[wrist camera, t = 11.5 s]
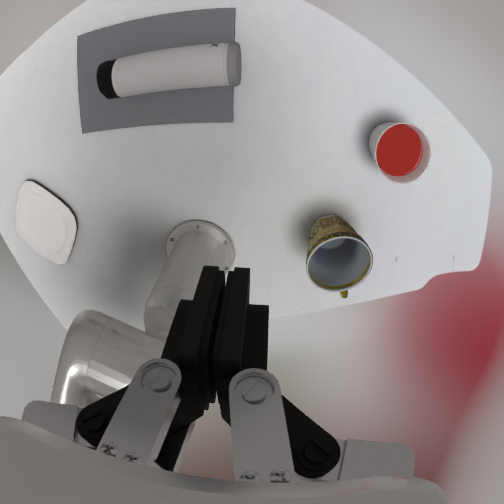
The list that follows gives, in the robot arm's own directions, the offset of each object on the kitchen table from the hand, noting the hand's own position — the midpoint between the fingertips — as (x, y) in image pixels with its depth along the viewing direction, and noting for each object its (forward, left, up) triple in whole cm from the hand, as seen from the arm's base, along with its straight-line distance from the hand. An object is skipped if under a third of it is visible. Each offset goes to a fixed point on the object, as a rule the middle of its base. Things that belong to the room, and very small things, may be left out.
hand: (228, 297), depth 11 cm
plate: (-17, +46, -36) cm, 61 cm away
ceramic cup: (-18, -13, -35) cm, 42 cm away
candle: (0, -20, -35) cm, 41 cm away
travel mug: (+10, +3, -32) cm, 33 cm away
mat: (+10, +17, -35) cm, 40 cm away
